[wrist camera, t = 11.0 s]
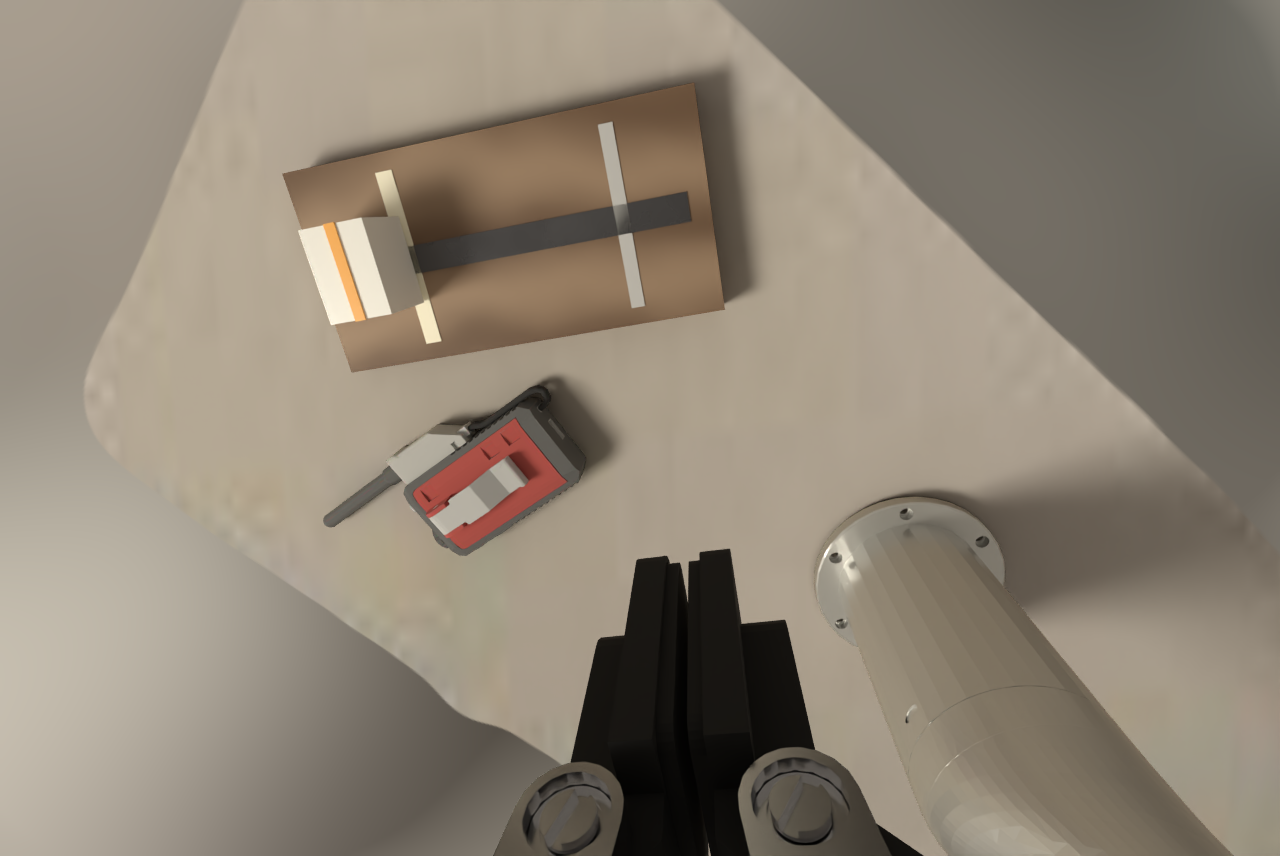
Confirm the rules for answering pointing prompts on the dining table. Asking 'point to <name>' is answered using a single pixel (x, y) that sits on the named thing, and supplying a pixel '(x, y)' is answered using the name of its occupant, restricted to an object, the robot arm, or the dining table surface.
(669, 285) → the brown board with strips
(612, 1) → the dining table surface
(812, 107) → the dining table surface
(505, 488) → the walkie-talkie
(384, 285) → the fader
